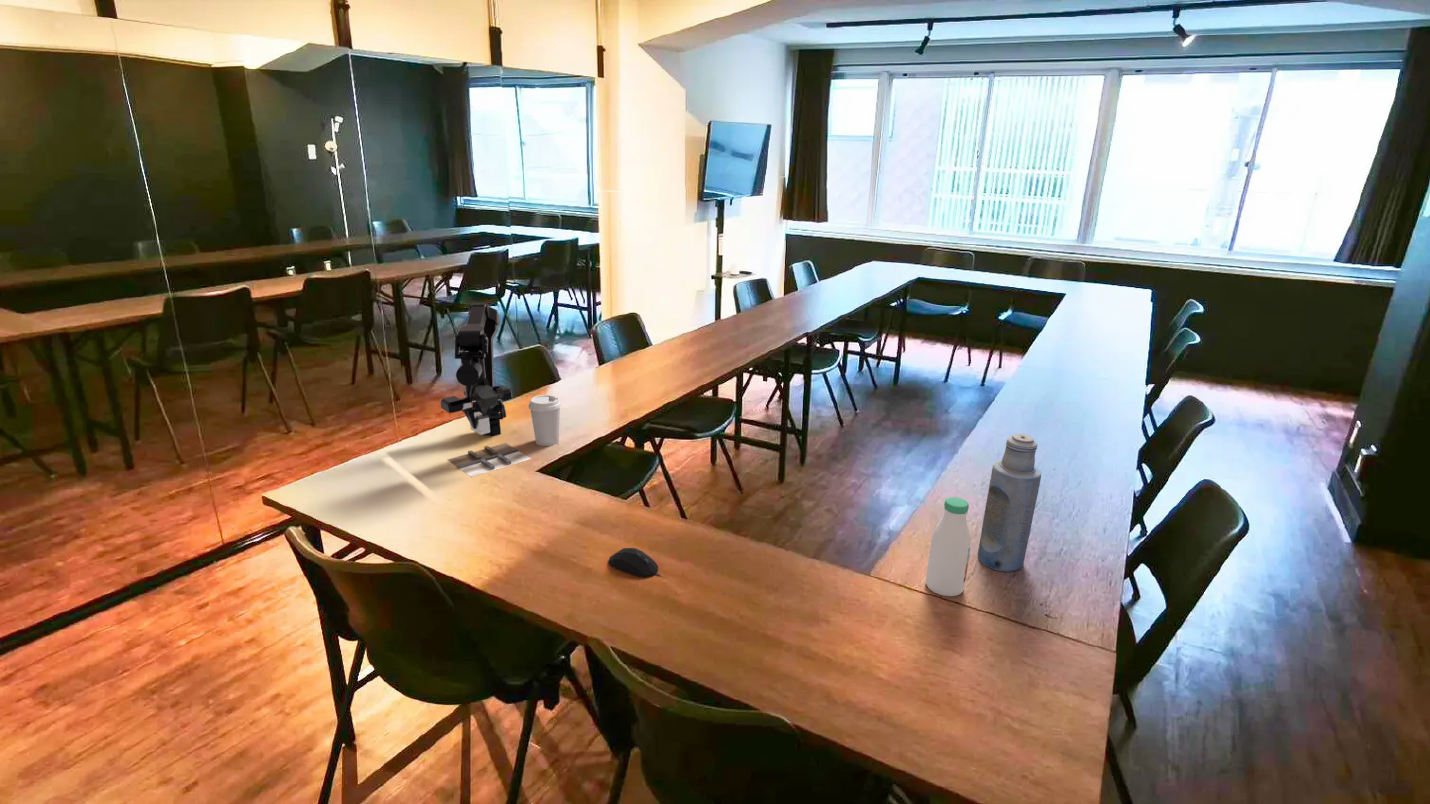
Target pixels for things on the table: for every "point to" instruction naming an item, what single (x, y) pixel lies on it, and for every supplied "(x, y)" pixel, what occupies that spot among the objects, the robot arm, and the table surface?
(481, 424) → the white rectangular block
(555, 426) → the coffee cup
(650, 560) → the gaming mouse
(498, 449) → the ribbed grey tray
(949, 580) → the milk bottle
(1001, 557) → the bottle
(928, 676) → the table surface
